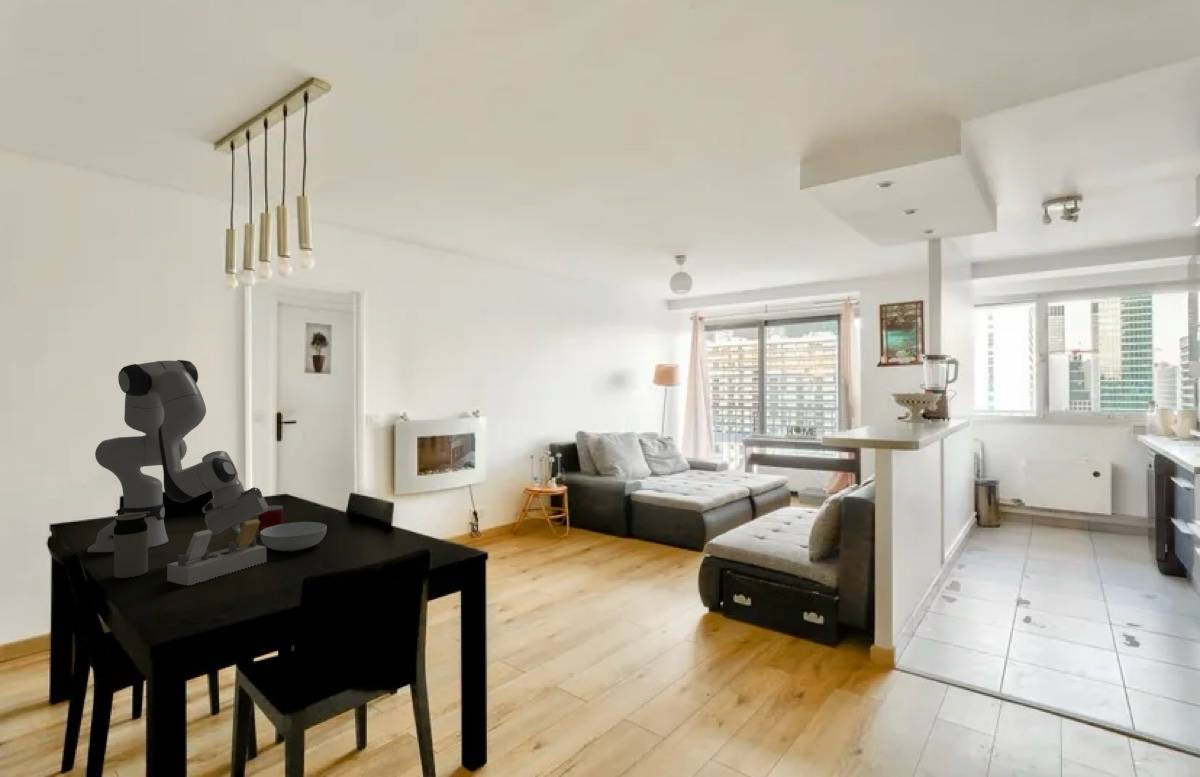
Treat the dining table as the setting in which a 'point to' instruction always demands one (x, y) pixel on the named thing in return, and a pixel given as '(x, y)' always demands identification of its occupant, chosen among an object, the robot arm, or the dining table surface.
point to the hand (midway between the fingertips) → (245, 535)
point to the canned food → (271, 517)
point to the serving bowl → (293, 535)
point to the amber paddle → (247, 533)
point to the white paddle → (198, 545)
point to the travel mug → (130, 545)
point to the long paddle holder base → (215, 563)
